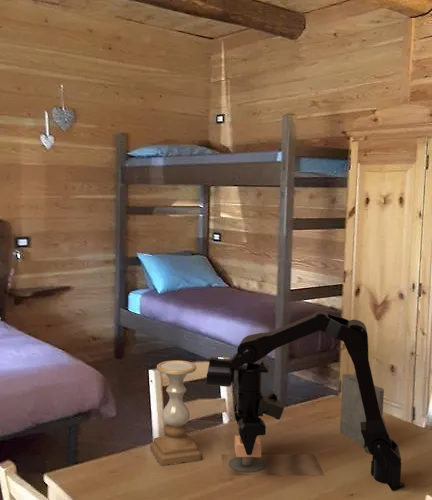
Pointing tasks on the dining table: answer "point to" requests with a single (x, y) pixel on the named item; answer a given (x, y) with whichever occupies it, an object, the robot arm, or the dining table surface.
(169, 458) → the candle holder
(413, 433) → the dining table surface
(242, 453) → the collar
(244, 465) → the post board
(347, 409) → the hip flask
